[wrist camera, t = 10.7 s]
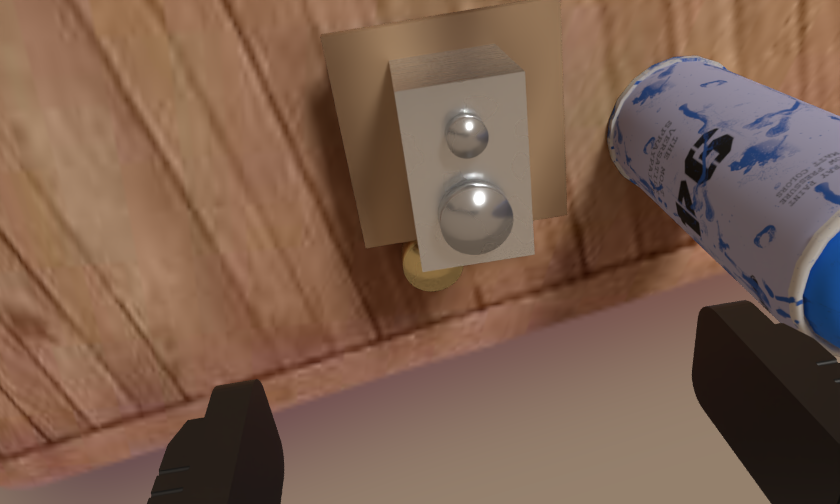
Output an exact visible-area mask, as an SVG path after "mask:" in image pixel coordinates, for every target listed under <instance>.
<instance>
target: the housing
mask: <svg viewBox="0 0 840 504" xmlns="http://www.w3.org/2000/svg"><path fill="white" fill-rule="evenodd" d="M389 65H390V72H391V78H392V84H393V91H394V97H395V103H396V110H397V116H398V122H399V129H400V135H401V142H402V148H403V154H404V161H405V167H406V173H407V180H408V186H409V192H410V199H411V205H412V211H413V218H414V224H415V230H416V236H417V242H418V248H419V254H420V260H421V266H422V272H427V271H433V270H439V269H446V268H452V267H458V266H465V265H471V264H477V263H483V262H490V261H496V260H502V259H509V258H515V257H521V256H527V255H534V235H533V215H532V196H531V177H530V158H529V139H528V120H527V101H526V82H525V71H524V70H523V69H522V68H521V67H520V66H519V65H518V64H517V63H515V62H514V61H513V60H512V59H511V58H510V57H509V56H508V55H507V54H506V53H505V52H504V51H503V50H501V49H500V48H499V47H498V46H497V45H496V44H490V45H483V46H477V47H471V48H464V49H458V50H452V51H445V52H439V53H433V54H426V55H420V56H414V57H407V58H401V59H395V60H389Z"/></svg>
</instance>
